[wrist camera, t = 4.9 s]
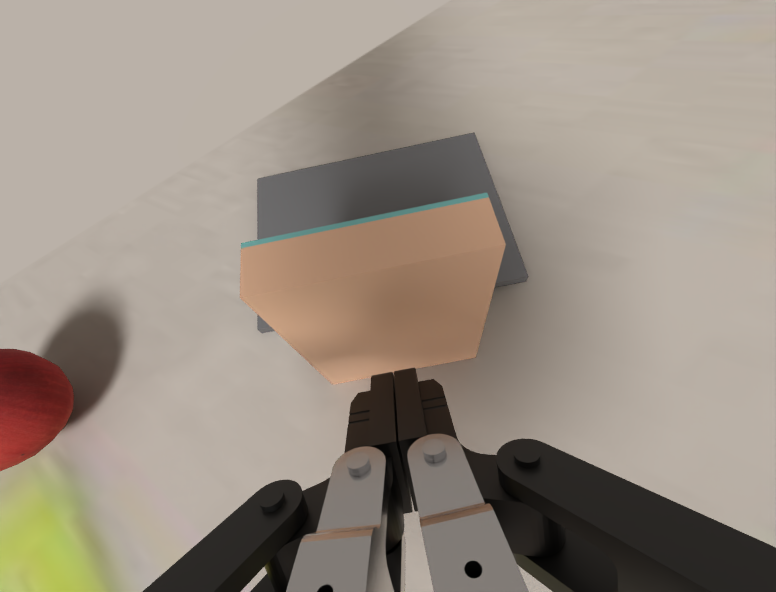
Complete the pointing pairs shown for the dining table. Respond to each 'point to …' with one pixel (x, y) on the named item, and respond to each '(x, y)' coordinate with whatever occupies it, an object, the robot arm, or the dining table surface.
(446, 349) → the tan flat block
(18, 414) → the onion
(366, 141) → the dining table surface
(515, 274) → the mat
